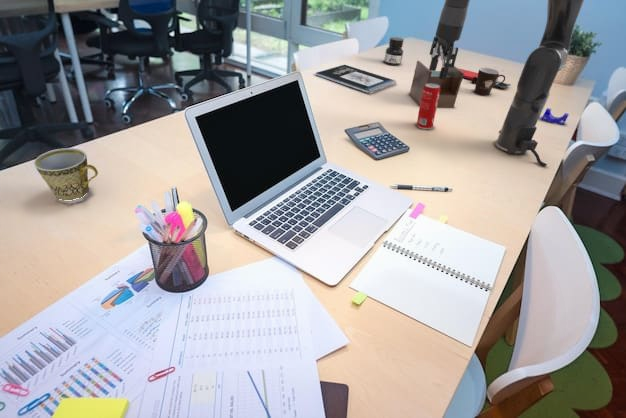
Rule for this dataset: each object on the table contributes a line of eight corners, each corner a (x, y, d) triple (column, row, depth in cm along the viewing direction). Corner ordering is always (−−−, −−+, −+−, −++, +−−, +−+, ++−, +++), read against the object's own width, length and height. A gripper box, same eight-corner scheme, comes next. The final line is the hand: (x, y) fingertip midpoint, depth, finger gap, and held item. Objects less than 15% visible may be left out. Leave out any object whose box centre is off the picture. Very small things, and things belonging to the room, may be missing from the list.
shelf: (453, 107, 158) (464, 73, 150) (421, 106, 156) (430, 71, 148) (439, 94, 169) (449, 62, 161) (409, 94, 167) (417, 60, 159)
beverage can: (432, 130, 138) (444, 89, 129) (414, 128, 139) (424, 86, 130) (431, 124, 143) (443, 83, 134) (414, 121, 144) (424, 81, 135)
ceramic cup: (38, 204, 88) (22, 166, 82) (67, 181, 96) (55, 145, 90) (92, 213, 87) (80, 175, 81) (117, 189, 95) (107, 153, 89)
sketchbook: (344, 67, 191) (344, 63, 190) (396, 84, 176) (397, 80, 175) (315, 75, 177) (315, 70, 176) (369, 94, 162) (370, 90, 161)
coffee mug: (470, 93, 174) (477, 70, 168) (473, 88, 180) (480, 66, 174) (497, 99, 170) (505, 76, 164) (499, 94, 177) (507, 72, 171)
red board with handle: (504, 91, 179) (512, 84, 190) (507, 85, 178) (514, 78, 188) (442, 75, 193) (453, 70, 203) (444, 69, 191) (454, 64, 201)
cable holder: (541, 119, 155) (545, 110, 153) (543, 117, 158) (547, 107, 155) (562, 126, 152) (567, 116, 149) (564, 123, 154) (569, 114, 152)
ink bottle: (381, 63, 200) (386, 39, 193) (384, 59, 207) (388, 35, 200) (400, 67, 198) (405, 42, 191) (402, 62, 205) (407, 38, 198)
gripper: (431, 16, 125) (418, 67, 135) (449, 26, 114) (434, 81, 124) (453, 17, 126) (439, 68, 136) (473, 28, 115) (456, 82, 125)
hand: (437, 74), depth 130 cm, fingers open, 8 cm apart
